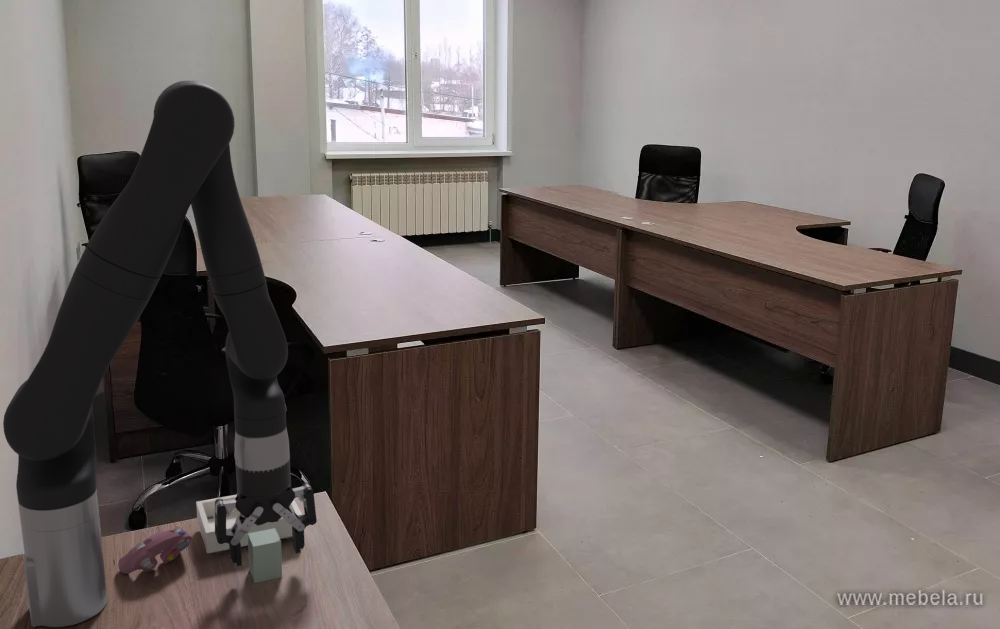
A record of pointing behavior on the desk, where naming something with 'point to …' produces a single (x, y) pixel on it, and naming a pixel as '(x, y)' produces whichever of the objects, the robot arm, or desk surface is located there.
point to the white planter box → (208, 523)
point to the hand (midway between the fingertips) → (268, 557)
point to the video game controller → (155, 550)
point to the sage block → (265, 555)
